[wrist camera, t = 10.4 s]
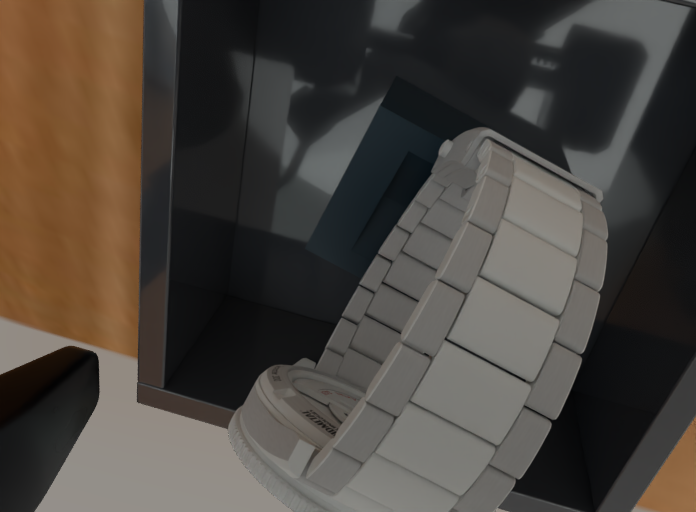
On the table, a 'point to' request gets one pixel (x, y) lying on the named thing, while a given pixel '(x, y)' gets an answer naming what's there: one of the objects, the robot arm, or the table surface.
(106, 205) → the table surface
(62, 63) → the table surface
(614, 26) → the basin
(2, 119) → the table surface
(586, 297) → the watch
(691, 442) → the table surface
